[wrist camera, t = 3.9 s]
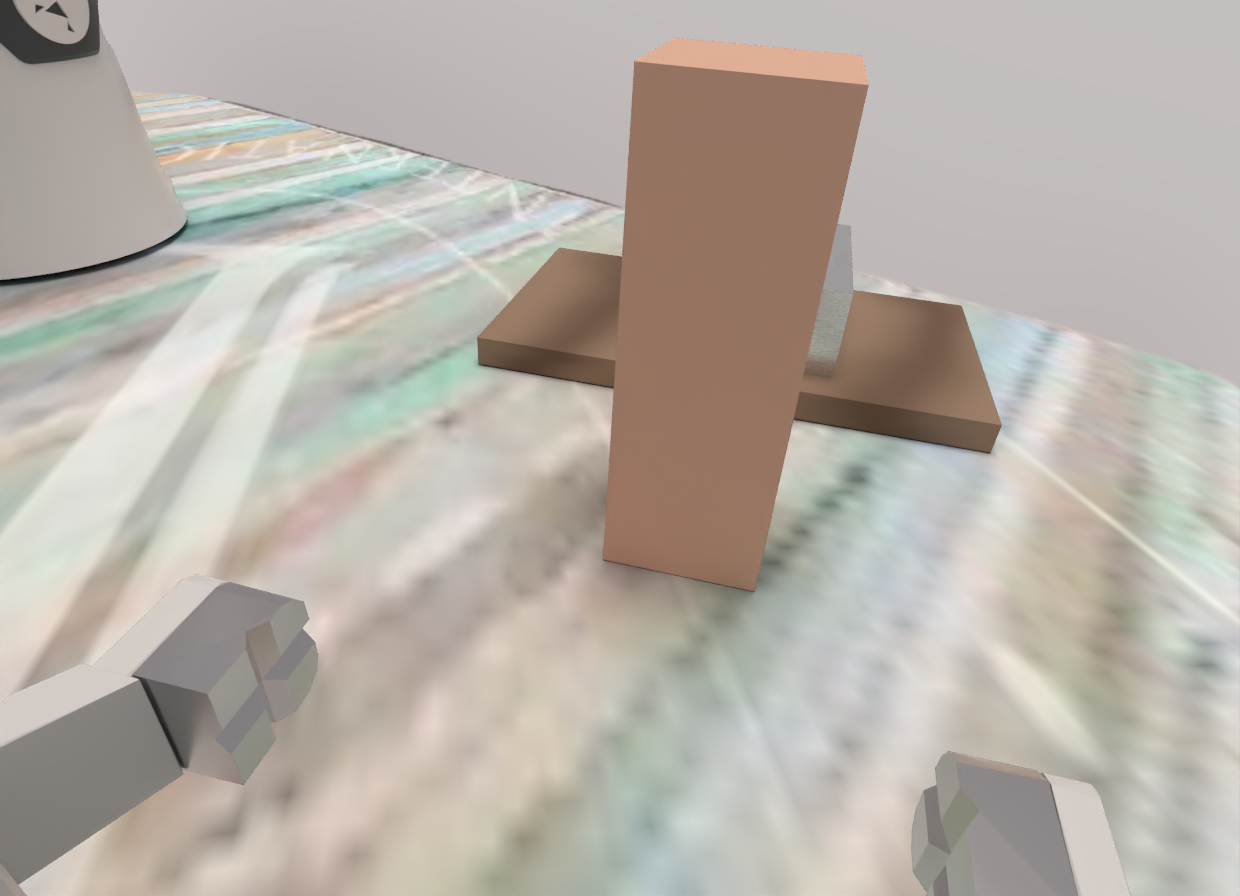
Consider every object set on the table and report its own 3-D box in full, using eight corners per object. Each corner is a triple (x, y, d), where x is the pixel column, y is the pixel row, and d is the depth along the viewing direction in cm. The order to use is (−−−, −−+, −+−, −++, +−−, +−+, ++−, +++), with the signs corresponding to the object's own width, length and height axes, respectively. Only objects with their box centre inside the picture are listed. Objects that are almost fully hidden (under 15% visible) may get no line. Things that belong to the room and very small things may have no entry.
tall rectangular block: (603, 559, 22) (634, 61, 15) (636, 473, 25) (674, 37, 18) (754, 591, 21) (868, 84, 14) (766, 498, 25) (862, 55, 17)
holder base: (478, 364, 31) (477, 337, 30) (558, 269, 40) (559, 247, 39) (990, 452, 28) (1001, 425, 27) (953, 328, 37) (961, 305, 36)
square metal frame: (631, 345, 31) (637, 262, 29) (667, 274, 37) (674, 202, 35) (831, 378, 29) (853, 293, 27) (833, 298, 36) (850, 225, 34)
